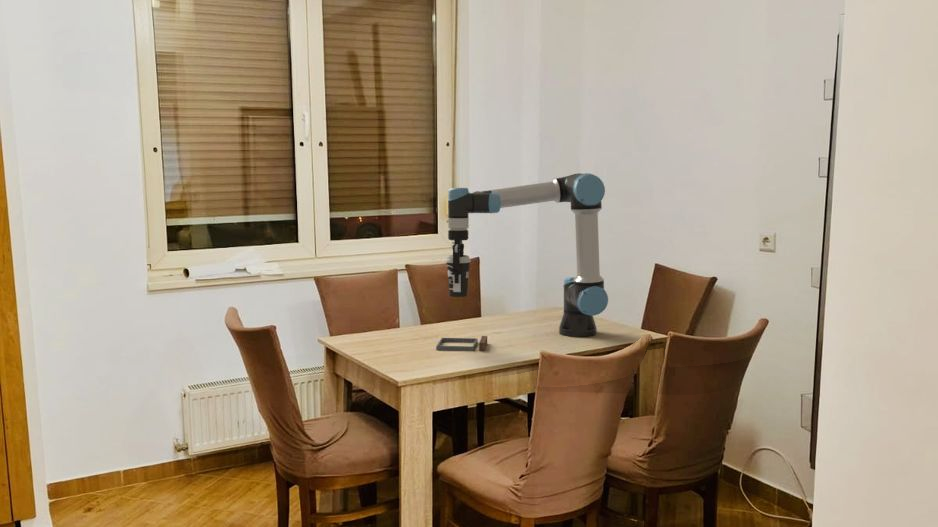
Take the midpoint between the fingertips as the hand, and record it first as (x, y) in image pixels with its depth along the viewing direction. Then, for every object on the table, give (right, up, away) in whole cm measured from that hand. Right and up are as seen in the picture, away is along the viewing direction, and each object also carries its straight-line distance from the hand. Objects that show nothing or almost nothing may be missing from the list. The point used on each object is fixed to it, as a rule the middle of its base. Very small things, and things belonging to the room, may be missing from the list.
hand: (458, 290), depth 293 cm
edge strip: (+9, -22, +1) cm, 24 cm away
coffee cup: (0, -2, 0) cm, 2 cm away
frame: (0, -21, +3) cm, 21 cm away
